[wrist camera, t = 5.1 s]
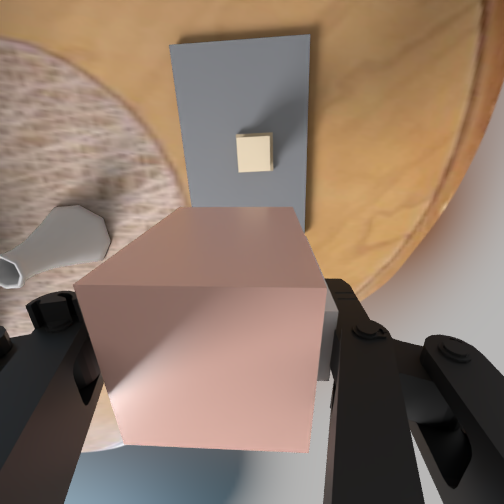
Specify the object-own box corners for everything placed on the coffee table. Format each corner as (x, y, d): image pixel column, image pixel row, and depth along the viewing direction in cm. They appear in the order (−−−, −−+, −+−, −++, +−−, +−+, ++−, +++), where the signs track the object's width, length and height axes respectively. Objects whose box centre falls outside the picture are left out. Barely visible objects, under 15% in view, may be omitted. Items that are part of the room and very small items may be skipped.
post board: (199, 238, 30) (184, 259, 24) (173, 49, 23) (144, 18, 18) (302, 234, 30) (312, 256, 24) (307, 39, 23) (323, 4, 17)
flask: (112, 211, 29) (43, 242, 20) (111, 267, 32) (50, 316, 23) (47, 197, 29) (-53, 221, 20) (52, 254, 32) (-34, 299, 23)
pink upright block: (191, 302, 16) (124, 444, 8) (179, 207, 13) (73, 284, 6) (288, 303, 15) (308, 453, 8) (292, 206, 13) (327, 287, 6)
